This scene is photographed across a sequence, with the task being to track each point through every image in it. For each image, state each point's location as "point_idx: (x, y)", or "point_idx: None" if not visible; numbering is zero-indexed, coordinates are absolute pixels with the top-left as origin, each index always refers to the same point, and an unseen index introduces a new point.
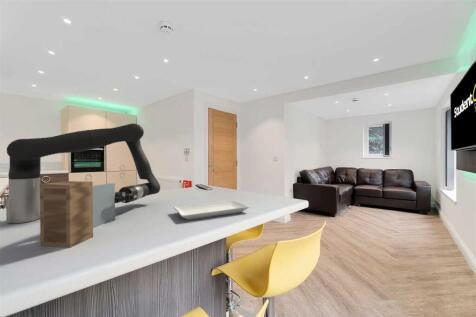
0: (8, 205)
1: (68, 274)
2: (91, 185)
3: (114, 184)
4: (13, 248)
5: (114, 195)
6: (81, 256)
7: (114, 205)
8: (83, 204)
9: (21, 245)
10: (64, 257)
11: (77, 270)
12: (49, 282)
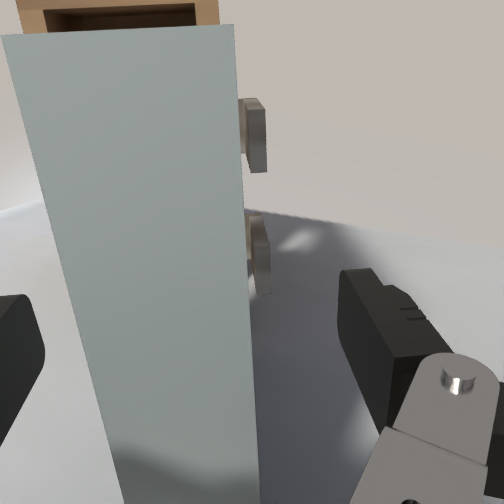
0: None
1: (21, 208)
2: (21, 11)
3: (17, 73)
4: (293, 223)
5: (88, 343)
6: (36, 234)
7: (127, 491)
8: None
9: (298, 232)
10: None
11: (9, 214)
12: (42, 198)
